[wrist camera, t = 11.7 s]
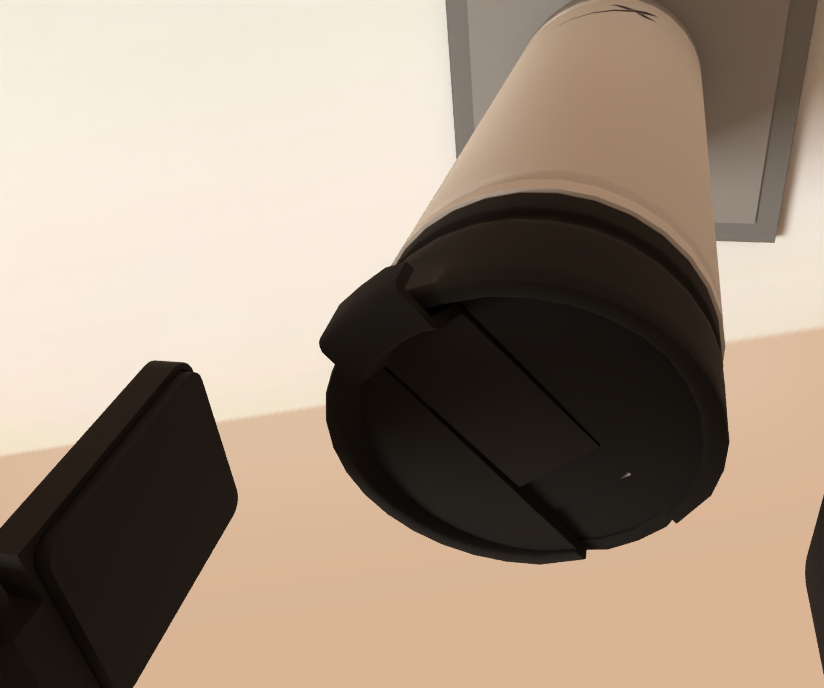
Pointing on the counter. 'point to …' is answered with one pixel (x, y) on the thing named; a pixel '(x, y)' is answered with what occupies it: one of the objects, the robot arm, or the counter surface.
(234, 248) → the counter surface
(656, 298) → the travel mug
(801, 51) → the mat
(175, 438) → the robot arm
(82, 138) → the counter surface
